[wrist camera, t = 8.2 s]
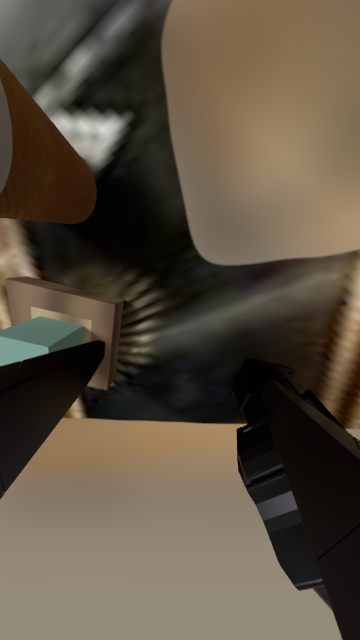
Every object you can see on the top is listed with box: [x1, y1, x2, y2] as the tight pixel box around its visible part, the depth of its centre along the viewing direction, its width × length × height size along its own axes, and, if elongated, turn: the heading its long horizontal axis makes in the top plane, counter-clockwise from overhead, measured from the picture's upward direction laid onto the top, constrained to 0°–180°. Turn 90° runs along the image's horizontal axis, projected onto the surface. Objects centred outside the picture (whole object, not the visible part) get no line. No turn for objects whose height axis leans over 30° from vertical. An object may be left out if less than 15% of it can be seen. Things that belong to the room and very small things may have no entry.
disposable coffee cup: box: [0, 59, 97, 224], centre depth 11 cm, size 10×10×12 cm
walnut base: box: [5, 277, 124, 390], centre depth 21 cm, size 12×12×2 cm
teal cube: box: [0, 316, 83, 366], centre depth 18 cm, size 5×5×5 cm
